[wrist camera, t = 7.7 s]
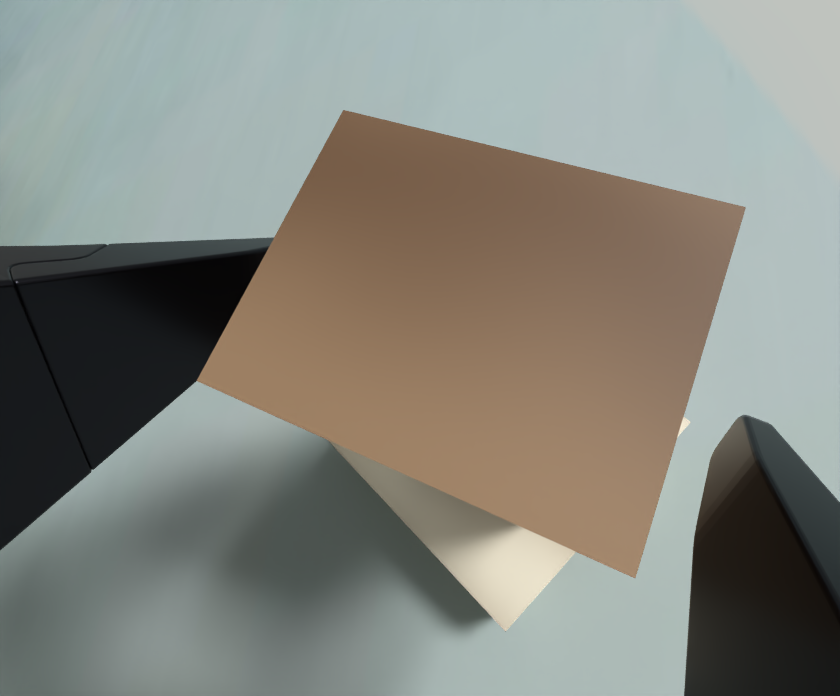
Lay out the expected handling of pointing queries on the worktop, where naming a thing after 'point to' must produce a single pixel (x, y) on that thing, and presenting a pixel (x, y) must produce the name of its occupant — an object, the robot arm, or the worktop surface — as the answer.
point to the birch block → (471, 540)
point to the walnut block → (486, 326)
